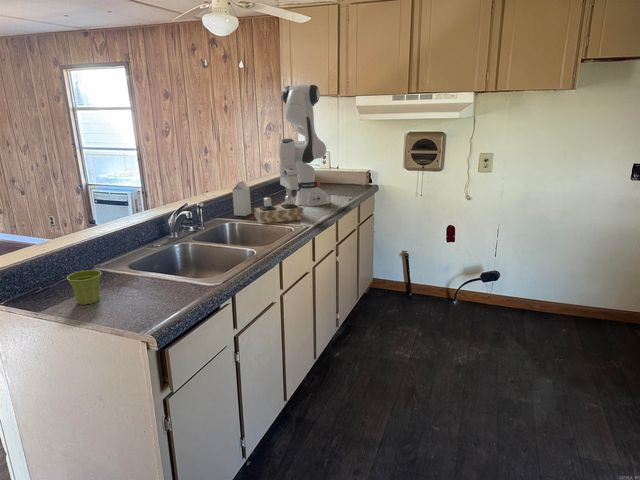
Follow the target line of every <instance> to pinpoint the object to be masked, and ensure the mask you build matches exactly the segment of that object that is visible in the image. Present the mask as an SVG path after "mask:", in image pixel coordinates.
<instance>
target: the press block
mask: <svg viewBox="0 0 640 480" xmlns="http://www.w3.org/2000/svg"><path fill="white" fill-rule="evenodd" d="M253 208H254V210H253V211H254V219H255V221H257V222H258V223H259V224H269V223H278V222H289V221H298V220H304V219H305V218H304V216H305V215H304V208H303V207H302V206H301V205H297V204H295V203H293V206H287V207H286V204H280V205H272V208H266V209H265V208H264V206H259V207H253Z"/></svg>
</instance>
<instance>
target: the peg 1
mask: <svg viewBox="0 0 640 480" xmlns="http://www.w3.org/2000/svg"><path fill="white" fill-rule="evenodd" d="M263 205H264V208H265V209H266V208H272V206H273V204H272V198H271V197H270V196H269V197H263Z"/></svg>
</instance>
